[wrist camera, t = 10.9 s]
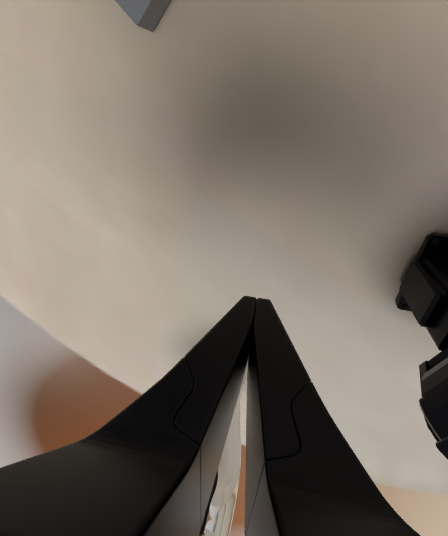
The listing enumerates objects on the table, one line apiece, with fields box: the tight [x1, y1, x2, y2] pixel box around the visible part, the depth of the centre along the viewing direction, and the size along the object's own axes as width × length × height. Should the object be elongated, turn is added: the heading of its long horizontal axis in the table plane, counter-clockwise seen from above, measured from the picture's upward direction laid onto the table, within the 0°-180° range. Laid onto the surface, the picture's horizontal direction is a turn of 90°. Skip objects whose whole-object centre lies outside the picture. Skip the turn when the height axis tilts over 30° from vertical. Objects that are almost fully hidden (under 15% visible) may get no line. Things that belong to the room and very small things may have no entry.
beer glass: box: [199, 362, 248, 536], centre depth 24 cm, size 7×7×15 cm
